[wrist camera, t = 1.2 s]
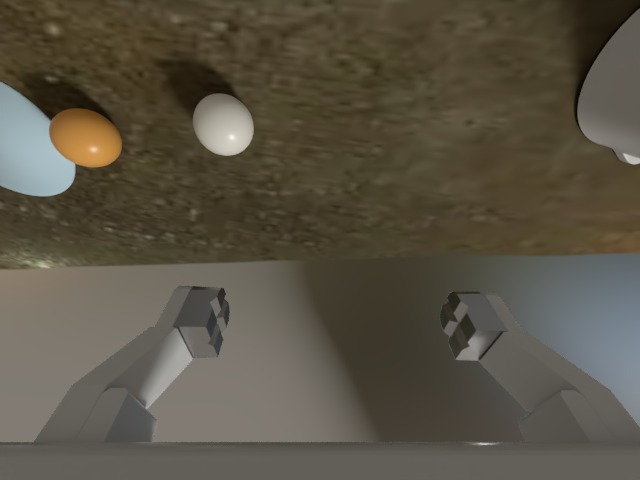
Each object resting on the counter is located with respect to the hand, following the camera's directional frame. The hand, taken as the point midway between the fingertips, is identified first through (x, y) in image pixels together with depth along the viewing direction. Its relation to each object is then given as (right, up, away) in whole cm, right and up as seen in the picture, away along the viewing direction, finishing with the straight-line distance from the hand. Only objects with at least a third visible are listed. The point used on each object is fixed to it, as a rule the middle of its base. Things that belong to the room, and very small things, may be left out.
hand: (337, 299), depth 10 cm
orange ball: (-24, +12, +17) cm, 32 cm away
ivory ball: (-10, +13, +16) cm, 23 cm away
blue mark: (-36, +13, +20) cm, 43 cm away
